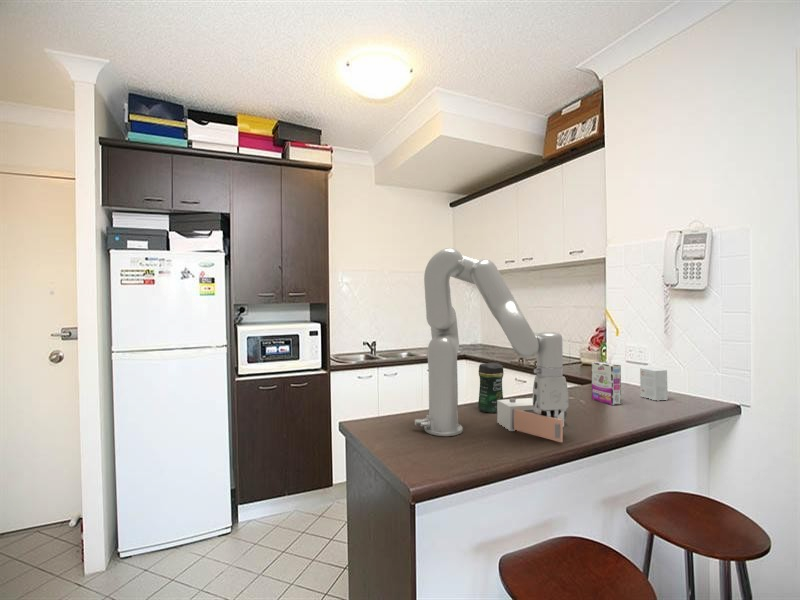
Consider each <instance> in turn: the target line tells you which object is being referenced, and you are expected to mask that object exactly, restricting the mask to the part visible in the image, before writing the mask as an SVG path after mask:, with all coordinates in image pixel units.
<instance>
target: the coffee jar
mask: <svg viewBox="0 0 800 600" xmlns="http://www.w3.org/2000/svg"><path fill="white" fill-rule="evenodd" d="M504 374H505V373H504V366H503V364H502V363H498V362H488V363H481V364H479V365H478V376H479V393H478V404H477V405H478V410H479V411H480V412H484V413H497V400H504V393H503V392H504V391H503V377H504Z"/></svg>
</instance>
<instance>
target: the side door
mask: <svg viewBox="0 0 800 600" xmlns="http://www.w3.org/2000/svg"><path fill="white" fill-rule="evenodd" d="M563 428H564V427H563V425H562V420H561V419H557V418H553V417H548V416H544V415H539V414H535V413H530V412H526V411H521V410H517V409H512V429H513V430H517V431H516V432H520V433H521V432H522V433H525V434H528V435H532V436H536V437H541V438H543V439H547V440H551V441H554V442H559V443H563V441H564V438H563V432H564V431H563Z"/></svg>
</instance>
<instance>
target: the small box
mask: <svg viewBox="0 0 800 600" xmlns="http://www.w3.org/2000/svg"><path fill="white" fill-rule="evenodd" d="M639 368H640V369H639V371H640V372H639V376H640V377H639V378H640V379H639V380H640V381H639V383H640V389H639V390H640V397H641V396H642V397H646V398H649V399H648V400H650V399H652V400H651V401H653V400H666V401H668V400H669V399H668V397H669V395H668V370H667V369H666V370H665V369H660V368H656V367H639ZM642 397H641V398H642ZM646 398H645V399H646Z"/></svg>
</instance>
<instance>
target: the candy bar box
mask: <svg viewBox="0 0 800 600" xmlns="http://www.w3.org/2000/svg"><path fill="white" fill-rule="evenodd" d="M621 367H622V365H620V364H615V363H611V362H610V363H608V362H602V361H592V362H591V400H593V399H594V400H593V401H596V400H597V401H596V402H599V401H600V402H599V403H603V404H606V403H607V404H606V405H610V406H618V405H620V404H621V405H622V379H621V378H622V376H621V375H622V373H621V372H622V371H621Z"/></svg>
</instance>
